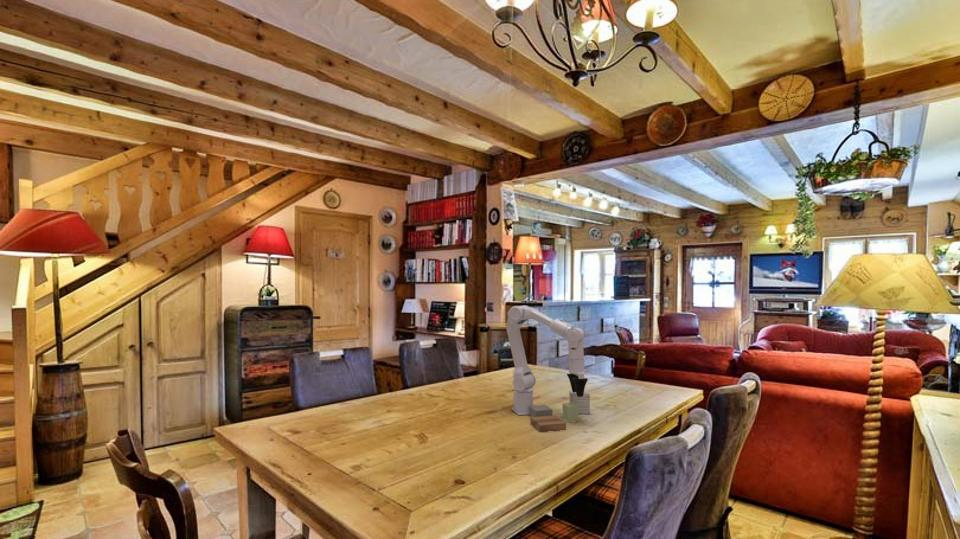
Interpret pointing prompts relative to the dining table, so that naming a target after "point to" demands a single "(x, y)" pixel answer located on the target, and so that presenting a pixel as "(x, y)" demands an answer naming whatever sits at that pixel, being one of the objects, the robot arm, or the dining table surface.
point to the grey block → (540, 411)
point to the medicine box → (581, 402)
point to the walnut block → (547, 423)
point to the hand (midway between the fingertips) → (577, 394)
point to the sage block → (570, 412)
